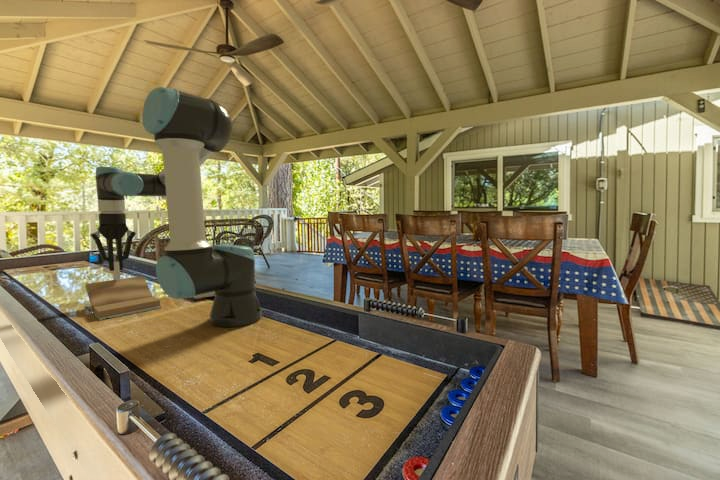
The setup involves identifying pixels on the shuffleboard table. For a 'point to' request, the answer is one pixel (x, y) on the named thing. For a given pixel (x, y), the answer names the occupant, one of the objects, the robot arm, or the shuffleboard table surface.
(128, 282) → the wavy wooden board
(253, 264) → the robot arm
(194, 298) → the stone slab
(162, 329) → the shuffleboard table surface
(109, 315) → the wooden card stand
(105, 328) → the shuffleboard table surface
